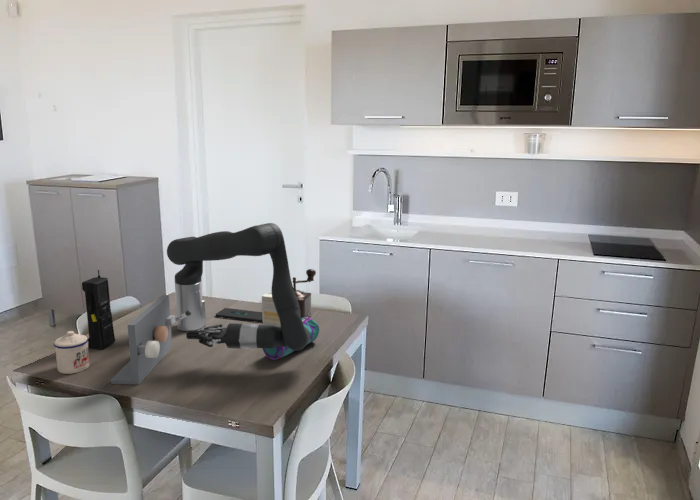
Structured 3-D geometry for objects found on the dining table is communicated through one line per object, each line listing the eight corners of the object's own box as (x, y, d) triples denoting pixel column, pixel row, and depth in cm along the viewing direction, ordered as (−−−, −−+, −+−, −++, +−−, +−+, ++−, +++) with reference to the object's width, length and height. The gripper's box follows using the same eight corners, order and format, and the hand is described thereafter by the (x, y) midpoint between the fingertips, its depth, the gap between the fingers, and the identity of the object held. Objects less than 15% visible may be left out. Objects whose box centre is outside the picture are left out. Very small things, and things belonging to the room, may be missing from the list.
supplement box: (288, 328, 198) (288, 294, 195) (282, 333, 194) (282, 298, 191) (268, 325, 201) (267, 291, 198) (262, 329, 197) (261, 295, 194)
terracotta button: (168, 338, 168) (167, 323, 167) (162, 344, 163) (161, 329, 162) (146, 337, 168) (145, 323, 167) (139, 343, 163) (138, 328, 162)
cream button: (160, 353, 157) (159, 338, 156) (153, 360, 152) (152, 344, 151) (136, 353, 157) (135, 337, 156) (129, 360, 152) (128, 344, 151)
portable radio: (101, 351, 176) (95, 277, 170) (85, 349, 177) (78, 275, 171) (116, 341, 183) (110, 270, 178) (100, 340, 185) (94, 269, 179)
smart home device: (225, 307, 216) (271, 312, 211) (225, 311, 217) (271, 316, 211) (214, 314, 208) (262, 319, 203) (214, 318, 209) (262, 324, 204)
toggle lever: (192, 313, 176) (189, 308, 176) (191, 315, 175) (188, 310, 174) (177, 321, 177) (174, 316, 177) (175, 323, 175) (172, 318, 175)
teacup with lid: (78, 375, 159) (74, 338, 156) (50, 373, 160) (45, 336, 157) (102, 358, 170) (98, 323, 168) (75, 356, 171) (71, 322, 169)
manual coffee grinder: (305, 324, 202) (305, 278, 198) (277, 321, 205) (276, 276, 201) (317, 311, 217) (317, 268, 213) (291, 308, 220) (291, 265, 216)
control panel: (176, 346, 180) (173, 295, 176) (144, 384, 154) (140, 325, 150) (148, 346, 181) (144, 294, 177) (111, 383, 154) (106, 324, 150)
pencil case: (299, 337, 191) (299, 311, 188) (319, 343, 186) (320, 316, 184) (260, 358, 173) (260, 330, 171) (282, 365, 169) (282, 336, 167)
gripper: (247, 316, 170) (193, 315, 170) (238, 332, 157) (178, 331, 157) (248, 339, 171) (194, 337, 172) (238, 356, 159) (180, 355, 159)
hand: (187, 334), depth 165 cm, fingers closed
